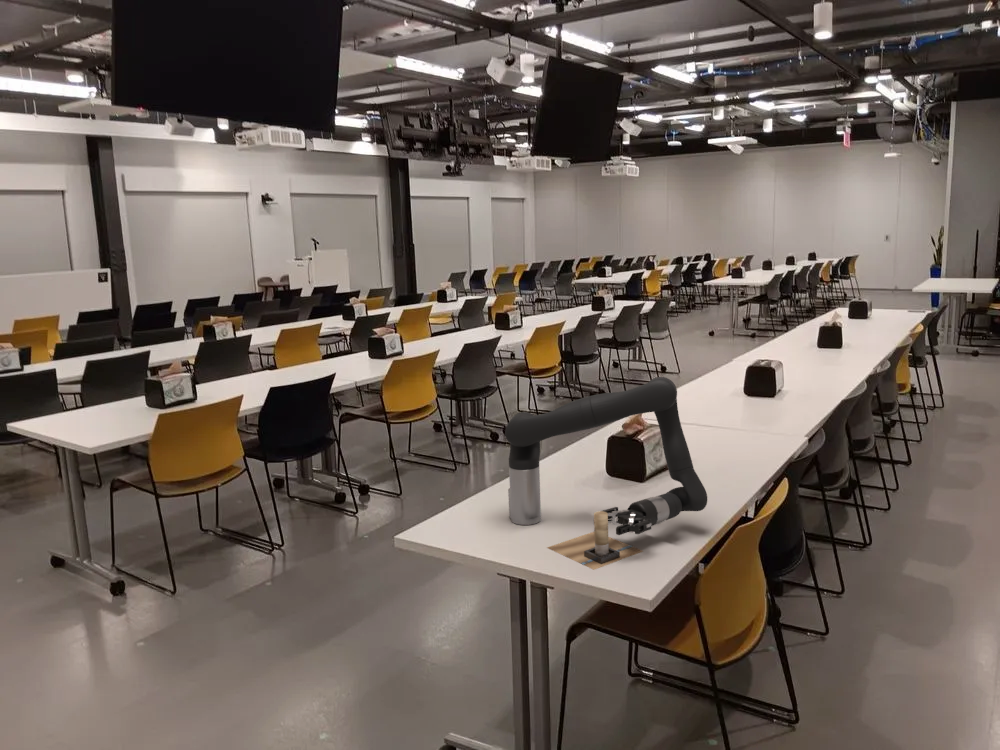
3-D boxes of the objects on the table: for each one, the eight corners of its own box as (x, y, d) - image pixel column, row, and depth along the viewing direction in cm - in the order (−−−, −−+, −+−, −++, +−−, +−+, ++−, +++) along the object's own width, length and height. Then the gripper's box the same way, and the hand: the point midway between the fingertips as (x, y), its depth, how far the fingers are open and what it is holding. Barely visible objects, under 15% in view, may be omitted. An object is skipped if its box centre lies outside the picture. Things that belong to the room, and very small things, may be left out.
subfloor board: (546, 552, 216) (546, 547, 216) (595, 536, 226) (595, 530, 226) (594, 575, 201) (593, 569, 200) (643, 556, 211) (643, 550, 211)
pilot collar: (584, 556, 209) (584, 551, 208) (602, 549, 213) (602, 544, 212) (601, 564, 203) (601, 558, 203) (619, 557, 207) (619, 552, 207)
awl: (592, 556, 208) (591, 513, 206) (602, 552, 211) (601, 510, 208) (601, 560, 206) (600, 517, 203) (611, 556, 208) (610, 513, 205)
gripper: (630, 493, 222) (587, 506, 212) (668, 505, 210) (624, 520, 201) (630, 518, 223) (587, 532, 214) (668, 532, 212) (625, 548, 202)
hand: (605, 526), depth 207 cm, fingers open, 8 cm apart
